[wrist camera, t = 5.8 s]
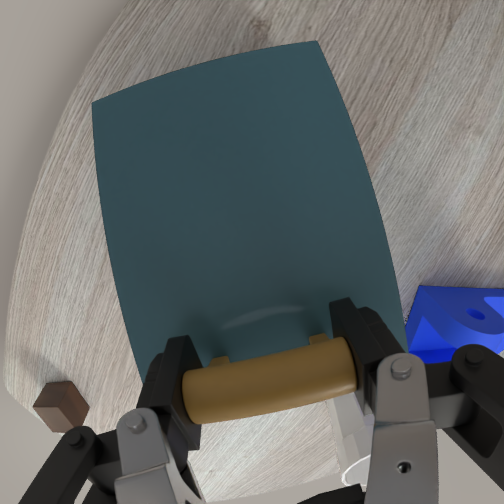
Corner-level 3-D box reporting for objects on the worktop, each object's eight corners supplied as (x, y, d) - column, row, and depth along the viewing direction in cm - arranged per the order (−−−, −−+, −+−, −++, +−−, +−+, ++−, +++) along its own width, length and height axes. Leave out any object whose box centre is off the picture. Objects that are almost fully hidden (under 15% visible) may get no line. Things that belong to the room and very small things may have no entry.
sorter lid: (403, 355, 13) (458, 393, 8) (159, 410, 14) (115, 464, 9) (315, 49, 14) (328, -21, 9) (98, 108, 14) (45, 61, 9)
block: (64, 408, 32) (52, 432, 28) (46, 382, 31) (31, 406, 27) (90, 407, 32) (79, 433, 28) (71, 381, 31) (58, 407, 26)
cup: (372, 357, 31) (413, 436, 20) (378, 396, 33) (411, 468, 23) (312, 379, 31) (336, 465, 21) (324, 415, 33) (345, 493, 23)
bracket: (394, 355, 31) (429, 414, 22) (419, 285, 28) (470, 337, 19) (499, 345, 32) (536, 385, 24) (523, 289, 29) (568, 324, 21)
